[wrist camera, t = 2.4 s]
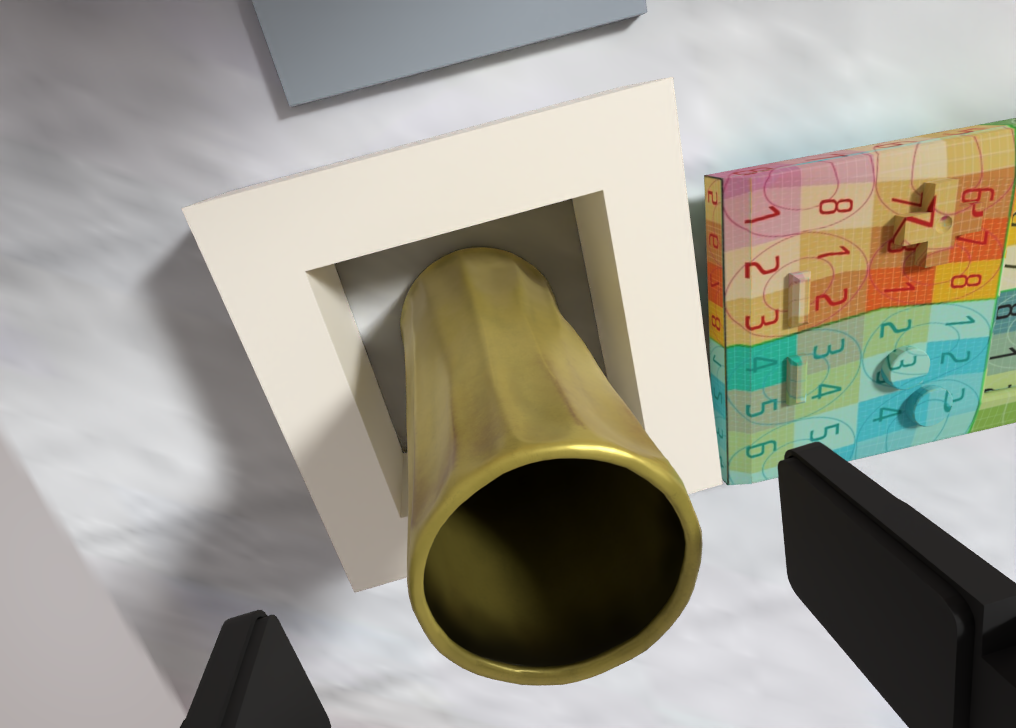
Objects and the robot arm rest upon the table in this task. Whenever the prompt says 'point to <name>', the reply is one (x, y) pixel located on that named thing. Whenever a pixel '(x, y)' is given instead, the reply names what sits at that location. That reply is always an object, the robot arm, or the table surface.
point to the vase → (531, 485)
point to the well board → (444, 208)
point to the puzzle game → (863, 298)
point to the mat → (409, 36)
